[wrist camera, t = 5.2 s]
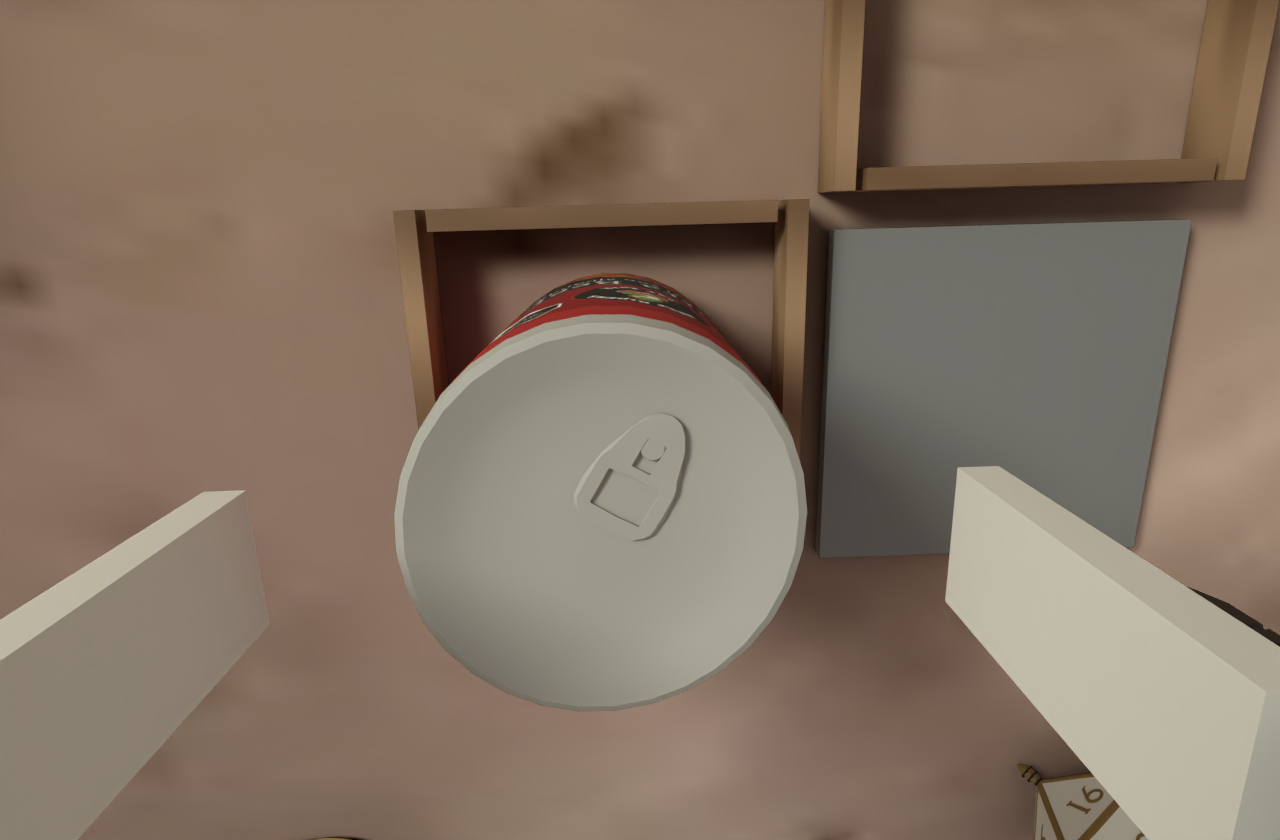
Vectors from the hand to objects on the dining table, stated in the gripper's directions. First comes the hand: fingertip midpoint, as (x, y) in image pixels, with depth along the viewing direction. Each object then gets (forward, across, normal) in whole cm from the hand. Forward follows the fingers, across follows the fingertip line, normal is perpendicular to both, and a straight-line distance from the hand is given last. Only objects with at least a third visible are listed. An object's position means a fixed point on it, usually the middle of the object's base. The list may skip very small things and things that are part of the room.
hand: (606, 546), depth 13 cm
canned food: (+11, 0, 0) cm, 11 cm away
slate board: (+11, +12, 0) cm, 17 cm away
